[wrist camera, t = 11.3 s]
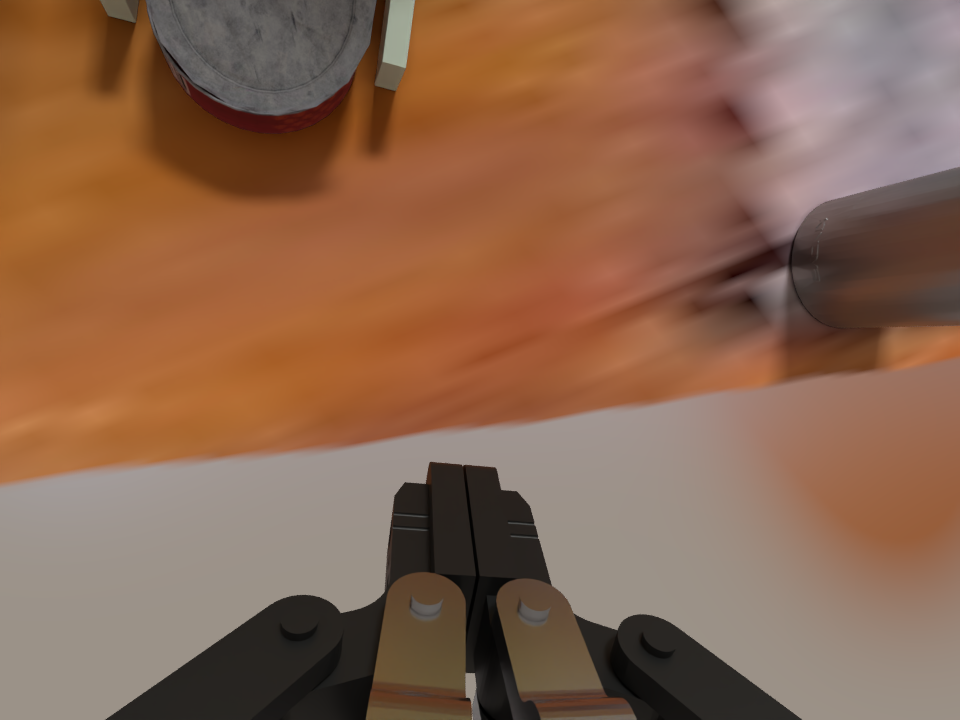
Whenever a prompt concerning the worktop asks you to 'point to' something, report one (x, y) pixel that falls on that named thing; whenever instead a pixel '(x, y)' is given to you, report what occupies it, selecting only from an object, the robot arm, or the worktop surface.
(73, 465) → the worktop surface
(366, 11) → the canned food
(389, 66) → the rack
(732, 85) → the worktop surface
